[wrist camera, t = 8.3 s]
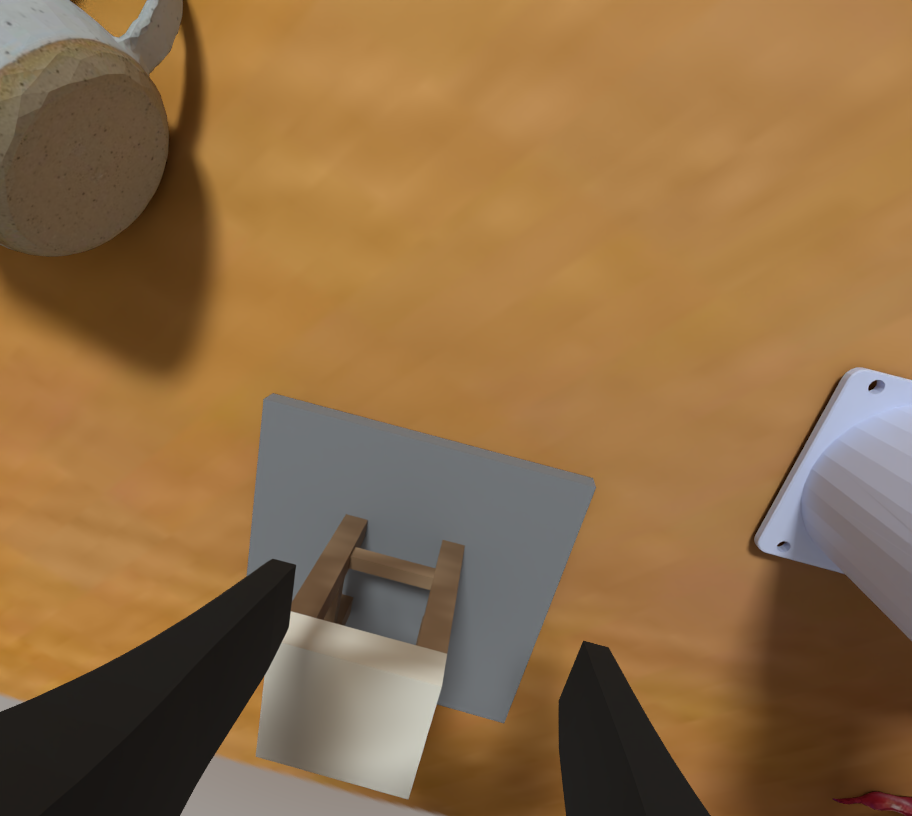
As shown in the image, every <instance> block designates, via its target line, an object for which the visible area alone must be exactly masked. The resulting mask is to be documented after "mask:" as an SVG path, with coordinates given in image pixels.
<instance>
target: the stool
mask: <svg viewBox="0 0 912 816" xmlns="http://www.w3.org/2000/svg"><path fill="white" fill-rule="evenodd" d="M367 522H368V520H366V519H363V518H359V517H355V516H351V515H347V514H346V515H345V517H344V518H343V520H342V521H341V523H340V525H339V526H338V528H337V530H336V531H335V533H334V534H333V536H332V538H331V539H330V541H329V542H328V544H327V546H326V547H325V549H324V551H323V552H322V554H321V555H320V557H319V559H318V560H317V562H316V564H315V565H314V567H313V568H312V570H311V572H310V573H309V575H308V577H307V578H306V580H305V581H304V583H303V585H302V586H301V588H300V590H299V591H298V593H297V594H296V596H295V598H294V599H293V601H292V605H291V614H290V622H289V628H288V630H287V633H286V635H285V637H284V639H283V641H282V643H281V645H280V647H279V649H278V651H277V653H276V655H275V657H274V659H273V661H272V663H271V665H270V667H269V669H268V671H267V672H266V674H265V678H264V687H263V696H262V705H261V714H260V723H259V732H258V741H257V750H256V757H260V758H263V759H267V760H270V761H274V762H277V763H281V764H284V765H288V766H291V767H295V768H298V769H302V770H306V771H309V772H313V773H316V774H320V775H323V776H327V777H330V778H334V779H337V780H341V781H344V782H348V783H351V784H355V785H359V786H362V787H366V788H369V789H373V790H376V791H380V792H383V793H387V794H390V795H394V796H397V797H401V798H404V799H409V796H410V792H411V789H412V786H413V782H414V779H415V776H416V772H417V769H418V765H419V762H420V759H421V755H422V752H423V749H424V745H425V742H426V738H427V735H428V732H429V728H430V725H431V722H432V718H433V715H434V711H435V708H436V705H437V701H438V698H439V695H440V691H441V688H442V683H443V677H444V670H445V664H446V658H447V652H448V646H449V640H450V634H451V627H452V621H453V615H454V609H455V603H456V597H457V591H458V584H459V578H460V572H461V566H462V560H463V554H464V547H465V545H461V544H457V543H454V542H450V541H446V540H442V544H441V548H440V552H439V556H438V560H437V564H436V568H432V567H429V566H425V565H421V564H417V563H413V562H410V561H406V560H402V559H398V558H395V557H391V556H387V555H383V554H380V553H376V552H372V551H368V550H365V549H361V548H360V546H361V544H362V542H363V540H364V538H365V532H366V527H367ZM349 569H353V570H357V571H361V572H364V573H368V574H372V575H376V576H379V577H383V578H387V579H391V580H394V581H398V582H402V583H405V584H409V585H413V586H417V587H420V588H424V589H428V590H430V593H429V597H428V601H427V605H426V610H425V614H424V616H423V618H422V622H421V626H420V629H419V633H418V637H417V642H416V645H413V644H409V643H406V642H402V641H398V640H394V639H391V638H387V637H383V636H380V635H376V634H372V633H369V632H365V631H361V630H358V629H354V628H350V627H347V626H345V624H346V622H347V620H348V617H349V615H350V612H351V607H352V602H353V597H351V596H347V595H343V594H342V590H343V584H344V579H345V576H346V574H347V572H348V570H349Z"/></svg>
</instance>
